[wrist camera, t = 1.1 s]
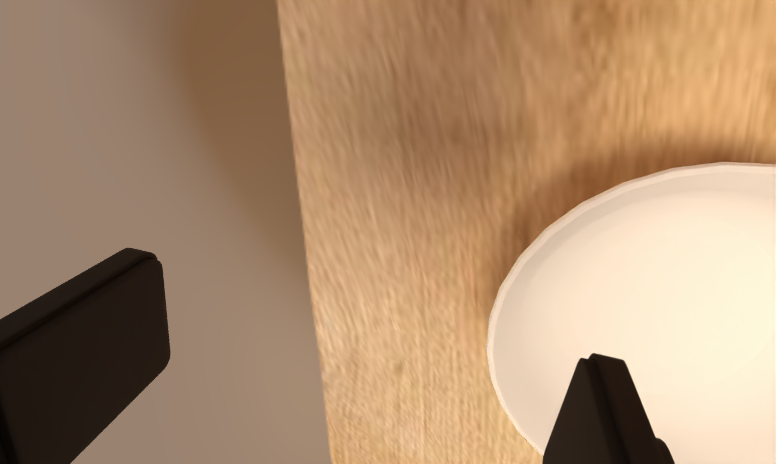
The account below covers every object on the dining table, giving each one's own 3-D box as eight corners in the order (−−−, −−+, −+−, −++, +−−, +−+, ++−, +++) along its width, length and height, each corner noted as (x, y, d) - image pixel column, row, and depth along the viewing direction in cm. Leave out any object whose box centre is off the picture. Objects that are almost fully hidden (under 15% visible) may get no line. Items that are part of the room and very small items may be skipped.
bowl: (437, 219, 29) (423, 261, 24) (801, 67, 22) (908, 74, 17) (552, 448, 34) (565, 530, 28) (882, 381, 27) (987, 471, 21)
